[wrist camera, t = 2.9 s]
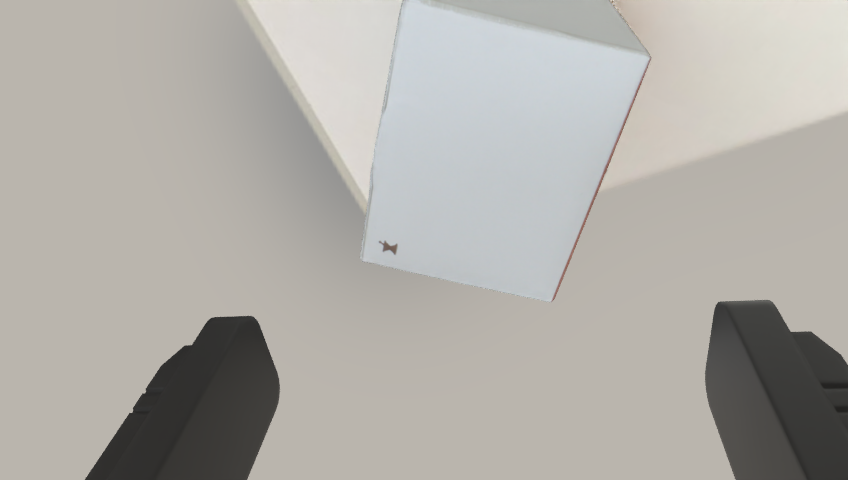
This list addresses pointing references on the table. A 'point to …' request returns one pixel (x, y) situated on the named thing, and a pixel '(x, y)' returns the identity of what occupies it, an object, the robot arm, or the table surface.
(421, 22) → the small box
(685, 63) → the table surface
